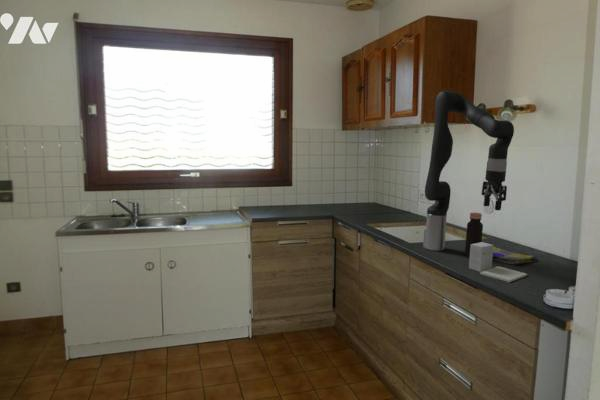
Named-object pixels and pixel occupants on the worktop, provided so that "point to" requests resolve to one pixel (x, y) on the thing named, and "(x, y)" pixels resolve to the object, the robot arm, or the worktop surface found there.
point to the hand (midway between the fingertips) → (491, 208)
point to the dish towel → (511, 257)
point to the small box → (481, 256)
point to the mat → (503, 274)
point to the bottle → (473, 231)
